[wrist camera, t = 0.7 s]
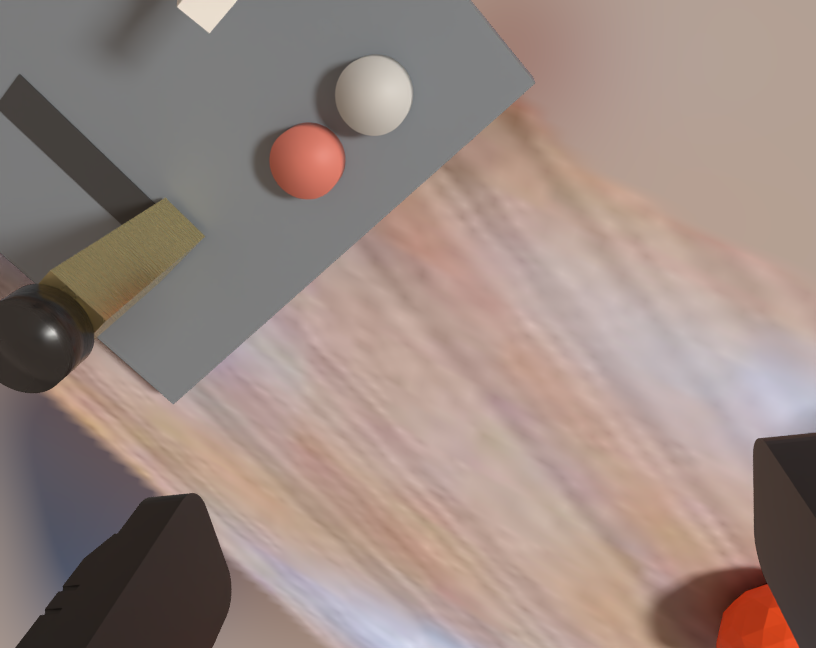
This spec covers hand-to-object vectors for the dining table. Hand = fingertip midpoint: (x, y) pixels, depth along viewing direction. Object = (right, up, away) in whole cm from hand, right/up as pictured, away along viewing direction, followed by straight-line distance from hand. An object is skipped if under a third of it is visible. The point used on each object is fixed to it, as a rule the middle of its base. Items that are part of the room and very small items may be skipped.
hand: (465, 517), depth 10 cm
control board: (-11, +13, +21) cm, 27 cm away
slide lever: (-12, +7, +22) cm, 26 cm away
